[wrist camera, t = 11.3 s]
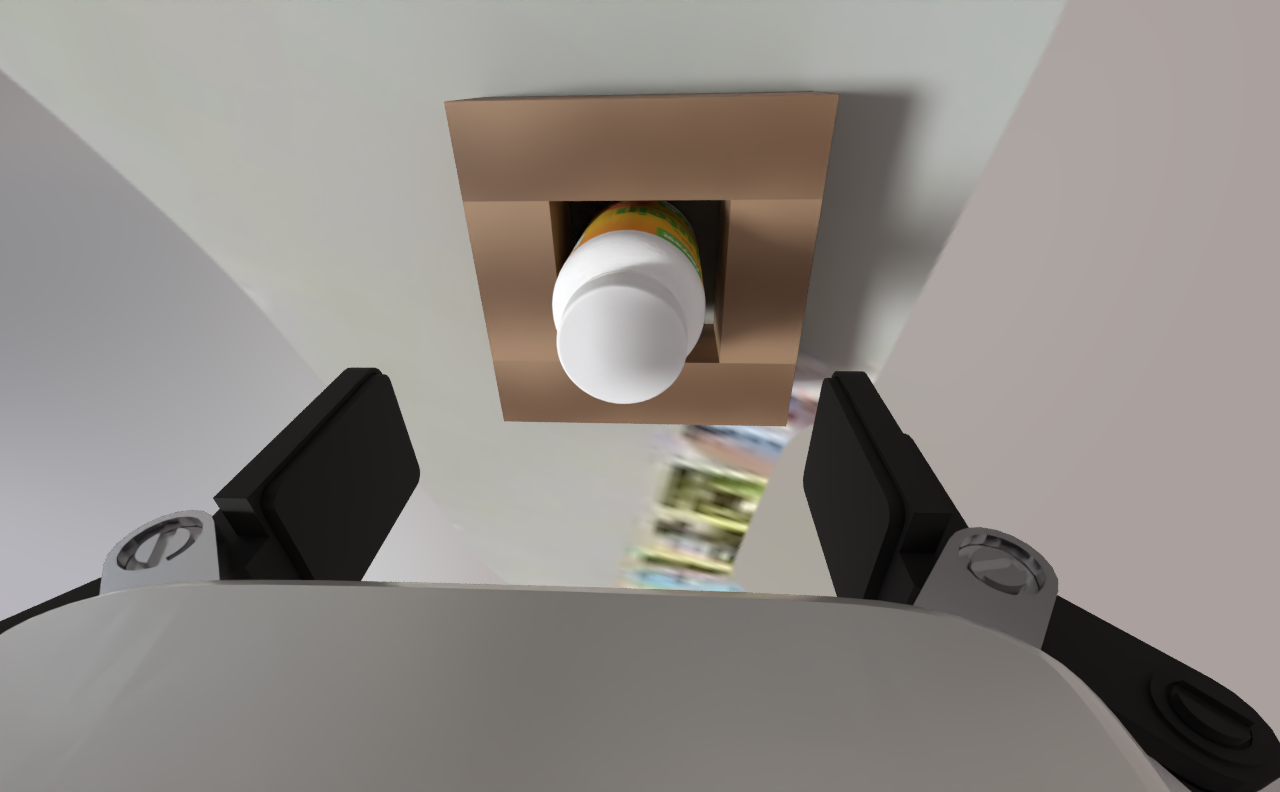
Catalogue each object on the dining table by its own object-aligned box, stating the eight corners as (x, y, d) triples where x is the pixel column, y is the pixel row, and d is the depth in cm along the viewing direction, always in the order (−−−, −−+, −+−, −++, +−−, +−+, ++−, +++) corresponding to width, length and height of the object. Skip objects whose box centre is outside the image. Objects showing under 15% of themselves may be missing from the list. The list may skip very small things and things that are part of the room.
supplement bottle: (719, 222, 23) (745, 305, 15) (669, 325, 26) (667, 445, 17) (605, 171, 22) (563, 229, 14) (566, 283, 25) (512, 388, 16)
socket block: (481, 97, 21) (444, 101, 17) (811, 91, 20) (839, 94, 17) (525, 378, 28) (504, 421, 24) (771, 381, 27) (785, 426, 23)
